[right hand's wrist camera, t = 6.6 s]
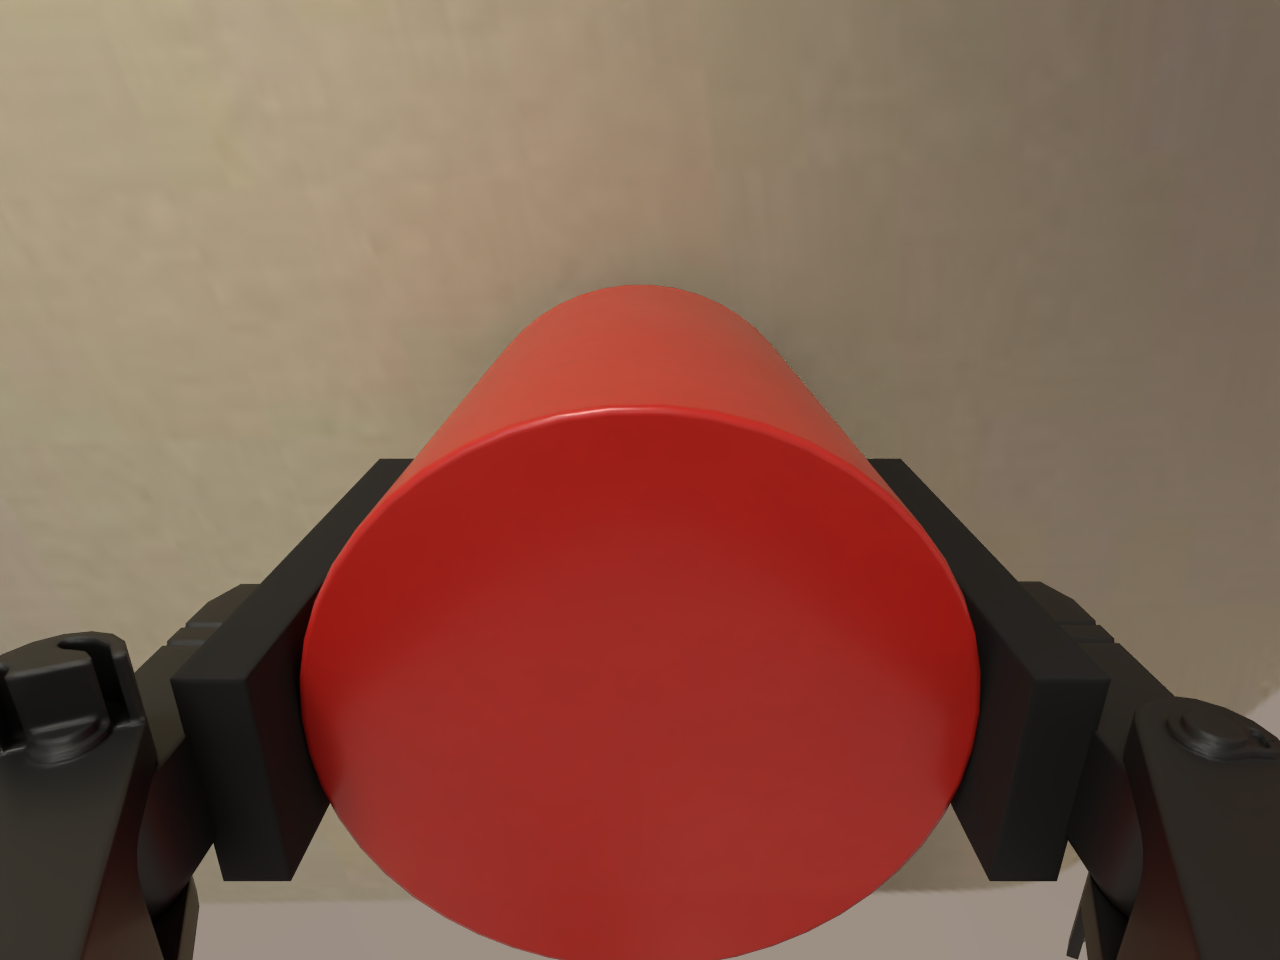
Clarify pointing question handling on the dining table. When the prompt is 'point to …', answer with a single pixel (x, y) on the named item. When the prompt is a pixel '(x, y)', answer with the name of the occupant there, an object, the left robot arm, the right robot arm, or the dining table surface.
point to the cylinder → (640, 650)
